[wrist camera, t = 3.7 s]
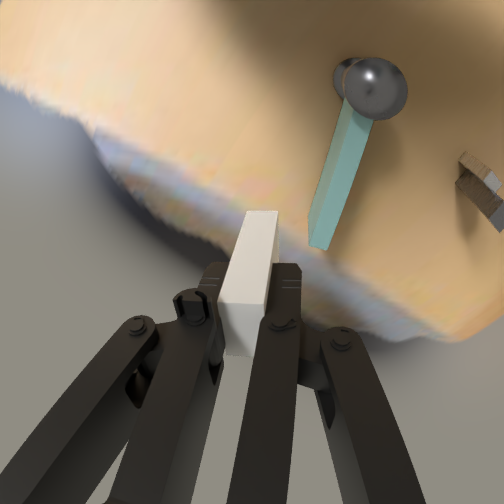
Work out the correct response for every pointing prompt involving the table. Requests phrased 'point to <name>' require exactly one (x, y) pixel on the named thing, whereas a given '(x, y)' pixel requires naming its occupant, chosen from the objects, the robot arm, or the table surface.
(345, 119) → the teal rectangular bar
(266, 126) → the table surface
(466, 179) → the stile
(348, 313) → the table surface
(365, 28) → the table surface
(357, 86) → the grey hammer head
